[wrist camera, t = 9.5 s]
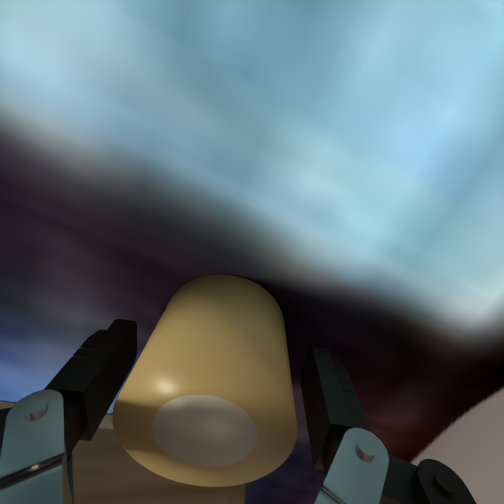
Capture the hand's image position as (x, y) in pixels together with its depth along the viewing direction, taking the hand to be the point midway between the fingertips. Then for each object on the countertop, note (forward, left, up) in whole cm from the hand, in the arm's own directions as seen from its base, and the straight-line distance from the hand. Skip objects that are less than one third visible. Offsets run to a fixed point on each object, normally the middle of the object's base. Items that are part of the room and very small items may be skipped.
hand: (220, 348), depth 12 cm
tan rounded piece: (0, 0, -1) cm, 1 cm away
